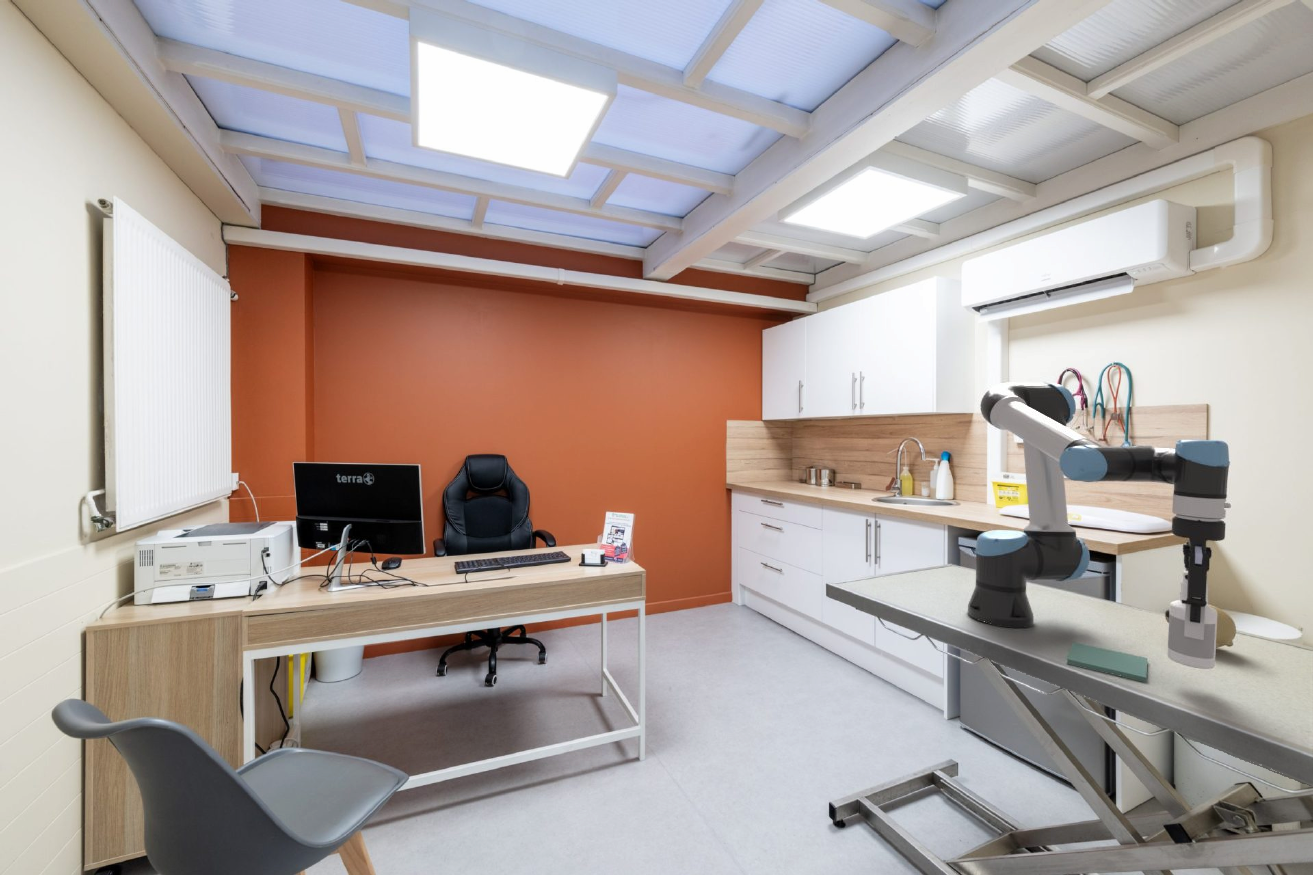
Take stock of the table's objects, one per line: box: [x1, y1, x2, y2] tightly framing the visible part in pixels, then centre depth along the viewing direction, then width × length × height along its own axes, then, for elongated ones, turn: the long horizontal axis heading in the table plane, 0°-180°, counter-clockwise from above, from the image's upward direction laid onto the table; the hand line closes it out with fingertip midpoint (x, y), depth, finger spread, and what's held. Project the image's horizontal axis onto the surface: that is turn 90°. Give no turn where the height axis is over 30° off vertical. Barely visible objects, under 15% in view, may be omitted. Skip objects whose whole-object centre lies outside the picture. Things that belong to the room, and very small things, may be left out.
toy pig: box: [1164, 603, 1237, 650], centre depth 131 cm, size 10×12×11 cm
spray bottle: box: [1167, 570, 1217, 670], centre depth 110 cm, size 7×7×18 cm
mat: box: [1066, 642, 1148, 683], centre depth 121 cm, size 13×13×1 cm
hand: (1192, 631), depth 110 cm, fingers closed on spray bottle, 7 cm apart
